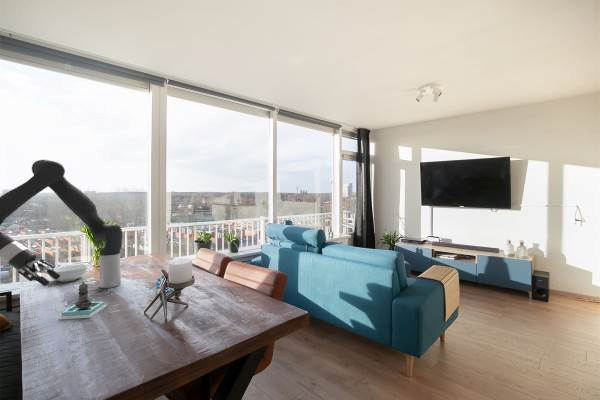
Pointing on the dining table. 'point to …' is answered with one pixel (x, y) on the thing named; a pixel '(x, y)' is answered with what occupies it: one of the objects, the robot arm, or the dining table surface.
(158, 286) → the gear
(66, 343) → the dining table surface
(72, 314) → the socket board
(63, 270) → the cereal bowl
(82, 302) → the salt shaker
